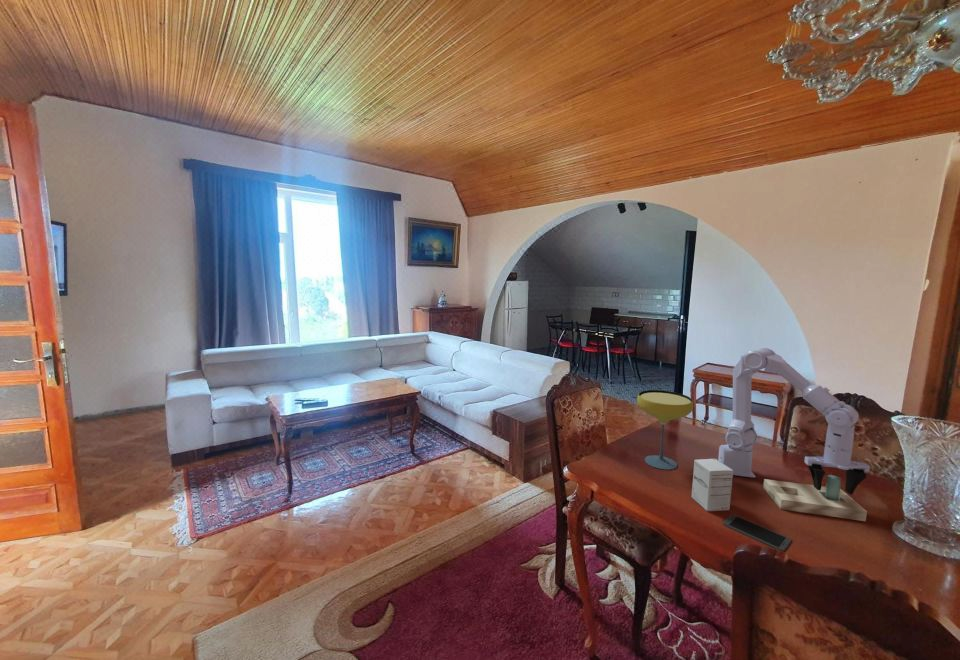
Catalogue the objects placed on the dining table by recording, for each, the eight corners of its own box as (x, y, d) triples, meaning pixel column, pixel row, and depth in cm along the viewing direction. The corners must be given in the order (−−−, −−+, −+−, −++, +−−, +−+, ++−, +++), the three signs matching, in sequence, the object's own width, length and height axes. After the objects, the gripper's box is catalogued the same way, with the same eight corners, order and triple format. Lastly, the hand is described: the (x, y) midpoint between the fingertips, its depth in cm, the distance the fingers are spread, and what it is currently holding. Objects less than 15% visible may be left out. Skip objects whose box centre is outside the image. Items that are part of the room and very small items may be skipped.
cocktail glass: (635, 448, 151) (638, 387, 148) (686, 457, 144) (691, 393, 140) (632, 468, 135) (636, 401, 132) (690, 479, 127) (695, 408, 124)
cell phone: (731, 515, 109) (731, 513, 109) (792, 541, 98) (792, 539, 98) (720, 525, 104) (721, 522, 104) (783, 554, 93) (783, 551, 93)
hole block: (780, 508, 111) (781, 499, 111) (763, 487, 122) (764, 479, 122) (865, 521, 105) (867, 511, 105) (839, 497, 117) (840, 488, 116)
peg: (827, 508, 111) (831, 479, 110) (821, 502, 114) (825, 474, 113) (840, 509, 111) (843, 480, 109) (833, 503, 113) (837, 475, 112)
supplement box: (690, 497, 117) (693, 458, 115) (713, 496, 118) (716, 457, 116) (706, 512, 110) (709, 470, 108) (730, 510, 110) (734, 469, 109)
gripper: (815, 449, 108) (810, 493, 110) (879, 456, 104) (873, 502, 106) (802, 439, 115) (798, 481, 117) (862, 445, 111) (856, 488, 113)
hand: (832, 490), depth 112 cm, fingers open, 7 cm apart
